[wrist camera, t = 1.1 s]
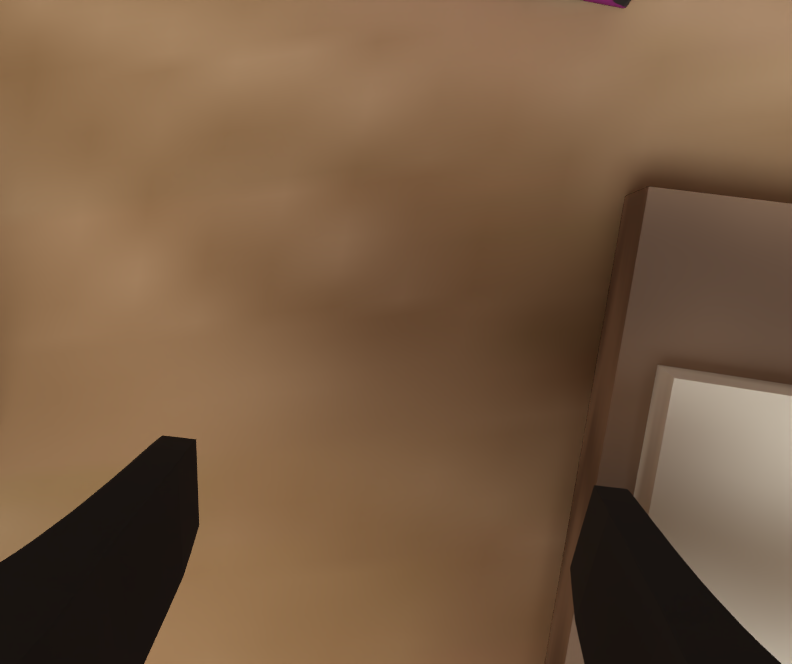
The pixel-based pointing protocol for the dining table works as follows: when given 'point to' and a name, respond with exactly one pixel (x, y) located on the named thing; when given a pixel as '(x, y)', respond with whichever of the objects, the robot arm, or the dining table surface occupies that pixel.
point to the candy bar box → (612, 2)
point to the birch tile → (725, 491)
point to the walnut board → (676, 333)
